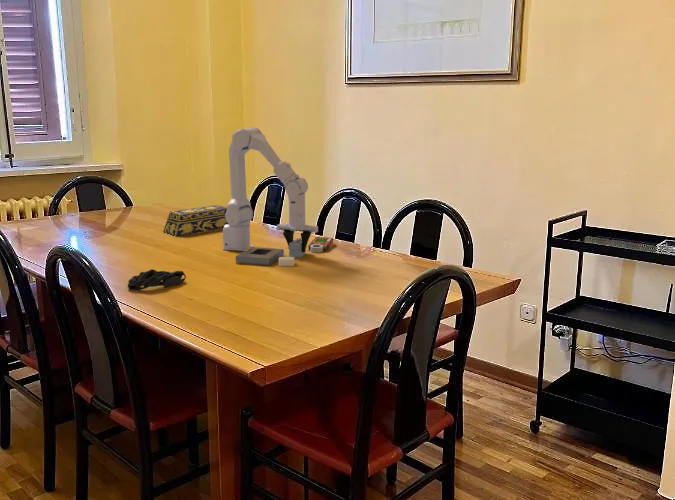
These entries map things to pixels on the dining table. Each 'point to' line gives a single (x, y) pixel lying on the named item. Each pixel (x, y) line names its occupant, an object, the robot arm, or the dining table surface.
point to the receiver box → (286, 261)
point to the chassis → (259, 256)
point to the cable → (156, 279)
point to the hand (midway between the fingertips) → (297, 251)
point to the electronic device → (320, 244)
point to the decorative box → (195, 220)
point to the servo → (296, 248)
